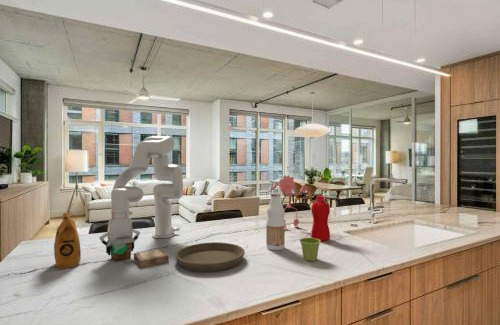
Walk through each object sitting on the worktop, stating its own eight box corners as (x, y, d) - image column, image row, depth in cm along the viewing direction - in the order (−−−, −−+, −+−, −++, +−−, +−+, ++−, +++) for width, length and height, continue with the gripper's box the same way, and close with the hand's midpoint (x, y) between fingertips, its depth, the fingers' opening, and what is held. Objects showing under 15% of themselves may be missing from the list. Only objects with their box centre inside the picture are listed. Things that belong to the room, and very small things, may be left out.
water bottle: (325, 243, 158) (325, 197, 157) (308, 239, 166) (308, 195, 166) (334, 240, 164) (334, 196, 163) (318, 236, 172) (318, 194, 172)
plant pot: (308, 264, 127) (308, 244, 127) (295, 257, 135) (295, 239, 135) (324, 260, 131) (325, 241, 131) (311, 254, 140) (311, 236, 140)
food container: (102, 259, 133) (101, 238, 132) (113, 255, 138) (112, 234, 138) (122, 263, 128) (122, 240, 128) (133, 259, 134) (132, 237, 133)
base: (160, 254, 139) (160, 248, 139) (168, 262, 130) (168, 255, 130) (133, 259, 132) (133, 252, 132) (141, 267, 123) (141, 260, 123)
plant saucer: (170, 255, 140) (170, 245, 140) (231, 247, 152) (231, 238, 152) (182, 279, 111) (182, 268, 111) (255, 267, 123) (255, 257, 123)
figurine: (310, 227, 193) (309, 175, 194) (275, 231, 183) (274, 176, 184) (297, 223, 207) (296, 174, 208) (265, 227, 197) (264, 175, 198)
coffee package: (52, 271, 119) (51, 217, 119) (55, 261, 130) (54, 212, 130) (80, 266, 124) (80, 215, 124) (80, 258, 135) (80, 210, 134)
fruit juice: (267, 251, 145) (267, 195, 145) (265, 245, 155) (265, 192, 154) (285, 250, 146) (286, 194, 145) (283, 245, 155) (283, 192, 155)
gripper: (137, 212, 142) (137, 247, 142) (98, 216, 132) (98, 253, 132) (142, 214, 136) (142, 251, 136) (100, 219, 125) (101, 258, 126)
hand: (120, 252), depth 134 cm, fingers open, 9 cm apart
